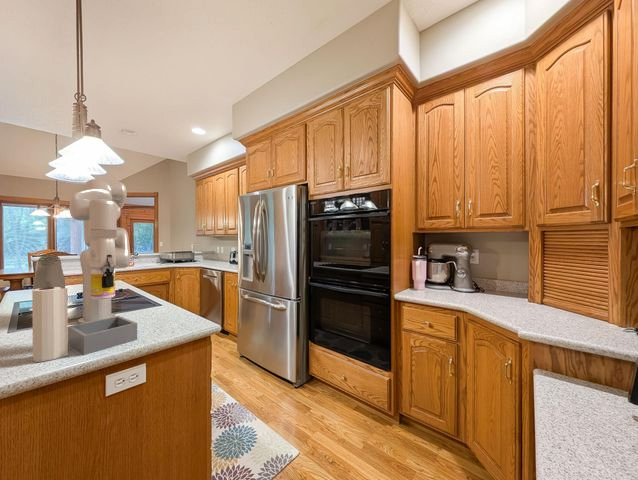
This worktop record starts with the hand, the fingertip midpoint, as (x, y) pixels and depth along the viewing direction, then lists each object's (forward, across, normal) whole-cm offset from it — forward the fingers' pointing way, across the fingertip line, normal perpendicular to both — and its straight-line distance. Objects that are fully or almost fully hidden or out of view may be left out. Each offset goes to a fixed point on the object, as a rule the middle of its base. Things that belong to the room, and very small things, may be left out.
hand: (103, 285), depth 93 cm
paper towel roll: (+20, +1, -14) cm, 25 cm away
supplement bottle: (+4, 0, 0) cm, 4 cm away
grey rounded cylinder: (+20, -53, -2) cm, 57 cm away
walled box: (+20, 0, 0) cm, 20 cm away
